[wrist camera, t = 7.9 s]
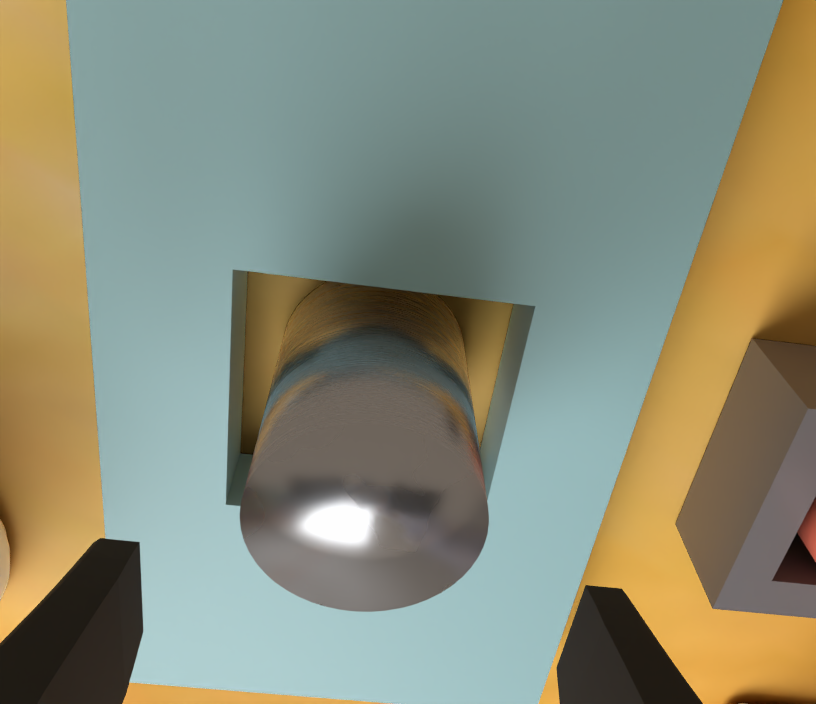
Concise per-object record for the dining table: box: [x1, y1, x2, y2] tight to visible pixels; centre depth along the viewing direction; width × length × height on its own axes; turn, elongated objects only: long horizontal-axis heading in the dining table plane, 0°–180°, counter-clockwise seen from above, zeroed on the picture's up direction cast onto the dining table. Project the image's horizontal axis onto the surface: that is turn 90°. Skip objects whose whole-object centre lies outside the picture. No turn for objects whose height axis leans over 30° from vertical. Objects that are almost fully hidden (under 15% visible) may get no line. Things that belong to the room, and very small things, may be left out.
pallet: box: [66, 0, 783, 704], centre depth 18 cm, size 20×12×2 cm, turn 172°
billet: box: [240, 281, 489, 612], centre depth 16 cm, size 4×4×6 cm
